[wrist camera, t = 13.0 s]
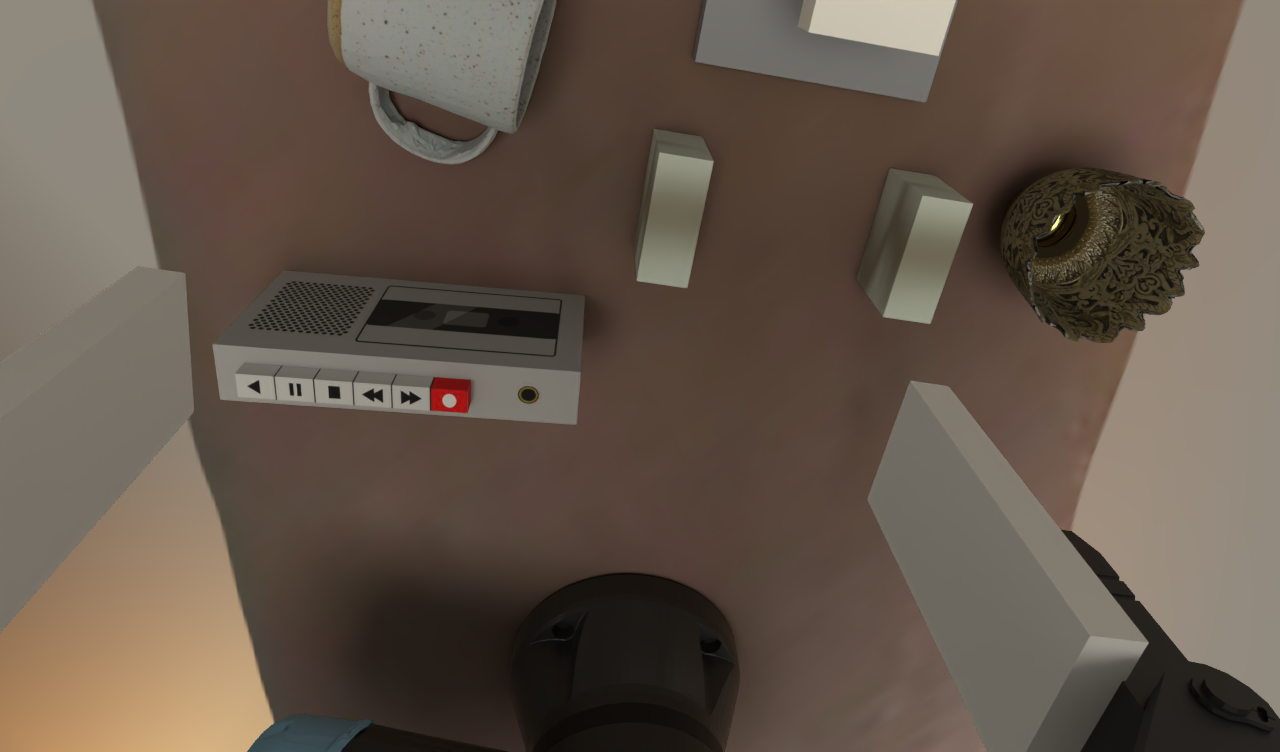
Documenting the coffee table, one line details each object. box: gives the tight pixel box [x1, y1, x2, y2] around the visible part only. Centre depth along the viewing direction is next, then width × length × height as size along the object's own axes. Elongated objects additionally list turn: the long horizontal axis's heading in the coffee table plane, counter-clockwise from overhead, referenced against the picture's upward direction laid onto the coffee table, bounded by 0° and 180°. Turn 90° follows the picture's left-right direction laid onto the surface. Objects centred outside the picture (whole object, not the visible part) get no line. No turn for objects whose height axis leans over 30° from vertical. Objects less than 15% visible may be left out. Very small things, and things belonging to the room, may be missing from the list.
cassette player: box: [213, 270, 585, 425], centre depth 41 cm, size 16×3×10 cm, turn 84°
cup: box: [1000, 168, 1205, 343], centre depth 40 cm, size 8×7×8 cm
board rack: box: [634, 129, 973, 324], centre depth 41 cm, size 6×14×5 cm, turn 80°
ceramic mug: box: [327, 0, 557, 164], centre depth 36 cm, size 11×8×8 cm
